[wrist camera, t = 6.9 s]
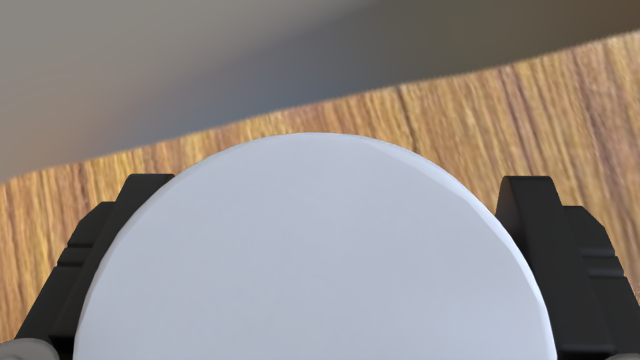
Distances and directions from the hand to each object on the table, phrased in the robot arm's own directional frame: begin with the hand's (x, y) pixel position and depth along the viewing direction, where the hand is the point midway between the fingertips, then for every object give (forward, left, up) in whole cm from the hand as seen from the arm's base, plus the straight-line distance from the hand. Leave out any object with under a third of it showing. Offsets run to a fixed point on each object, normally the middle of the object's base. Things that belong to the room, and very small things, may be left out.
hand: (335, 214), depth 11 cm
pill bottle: (-1, -1, -5) cm, 5 cm away
